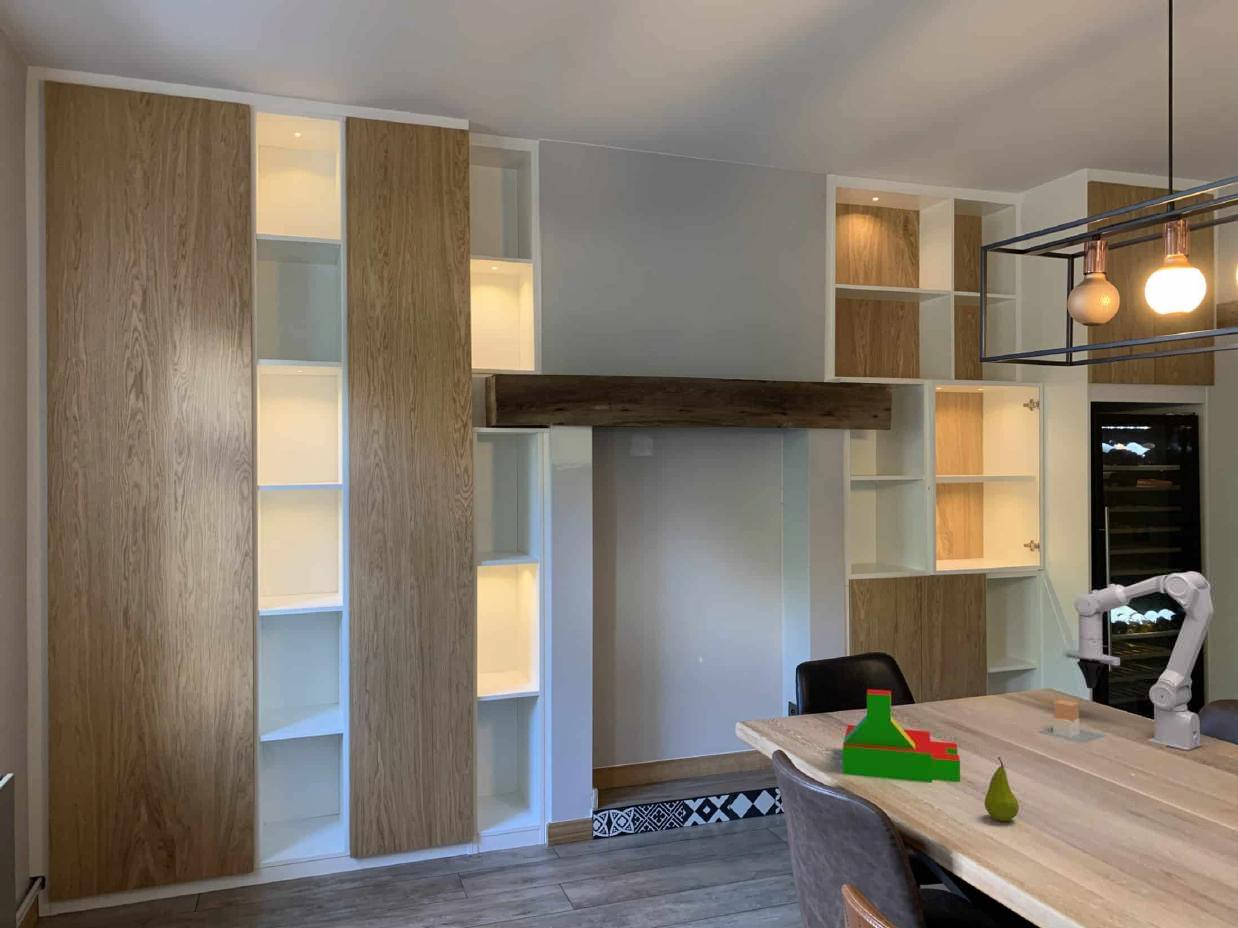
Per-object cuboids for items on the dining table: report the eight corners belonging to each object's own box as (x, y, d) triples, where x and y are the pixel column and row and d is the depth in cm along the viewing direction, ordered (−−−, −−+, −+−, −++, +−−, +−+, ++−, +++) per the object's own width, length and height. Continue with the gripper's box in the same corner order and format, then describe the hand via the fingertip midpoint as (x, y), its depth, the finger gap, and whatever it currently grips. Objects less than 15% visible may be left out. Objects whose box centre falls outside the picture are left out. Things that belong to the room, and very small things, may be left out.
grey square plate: (1107, 737, 230) (1107, 735, 230) (1083, 744, 223) (1083, 742, 223) (1061, 727, 239) (1061, 725, 239) (1037, 733, 233) (1037, 732, 233)
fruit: (1007, 828, 168) (1006, 764, 168) (977, 818, 173) (977, 756, 173) (1025, 820, 172) (1024, 758, 172) (995, 811, 177) (995, 751, 177)
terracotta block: (1078, 718, 232) (1078, 702, 232) (1072, 721, 228) (1072, 705, 229) (1060, 714, 235) (1060, 699, 235) (1054, 717, 232) (1054, 702, 232)
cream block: (1079, 734, 231) (1079, 718, 231) (1070, 736, 228) (1070, 721, 228) (1062, 730, 234) (1062, 715, 235) (1053, 732, 232) (1053, 717, 232)
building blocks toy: (960, 786, 192) (960, 702, 193) (843, 774, 200) (842, 694, 200) (955, 761, 210) (955, 684, 211) (848, 751, 218) (847, 677, 218)
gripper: (1125, 640, 238) (1126, 690, 237) (1072, 632, 250) (1072, 681, 249) (1112, 642, 234) (1113, 694, 233) (1058, 635, 246) (1059, 684, 245)
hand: (1091, 687), depth 241 cm, fingers closed
